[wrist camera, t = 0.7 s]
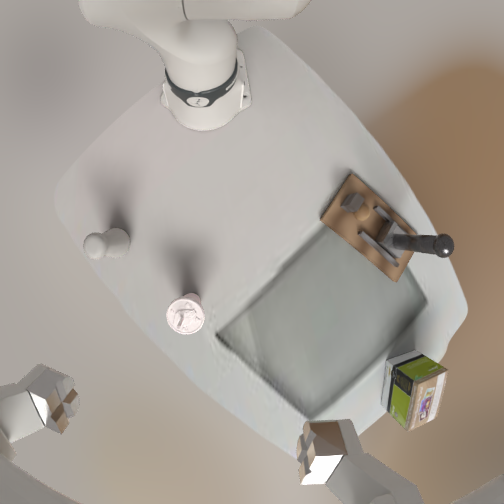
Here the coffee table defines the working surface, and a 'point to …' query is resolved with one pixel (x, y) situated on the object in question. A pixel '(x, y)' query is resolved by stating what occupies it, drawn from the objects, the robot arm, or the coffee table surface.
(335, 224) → the base
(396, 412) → the tea box
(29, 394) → the robot arm
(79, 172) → the coffee table surface
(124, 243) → the salt shaker
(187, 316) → the smoothie
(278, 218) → the coffee table surface
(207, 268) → the coffee table surface
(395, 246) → the handle slide
